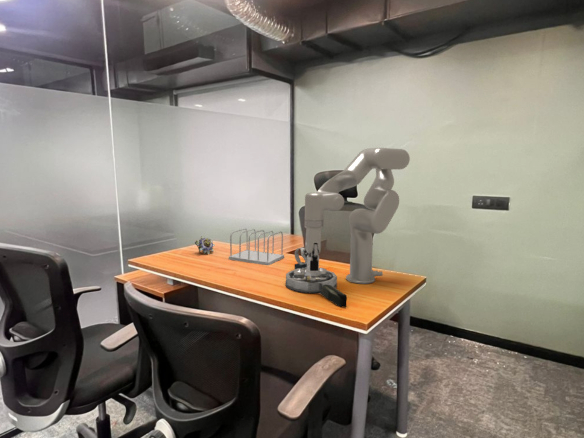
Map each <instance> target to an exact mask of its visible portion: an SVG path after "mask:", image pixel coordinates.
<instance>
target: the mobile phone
mask: <svg viewBox="0 0 584 438" xmlns="http://www.w3.org/2000/svg"><path fill="white" fill-rule="evenodd" d="M319 295H320V296H322V297H324V298H325V299H327V300H329V301H330V302H332V303H333V304H334V305H336V306H338V307H340V308H346V307H347V300H348V299H347V298H348V296H347V294H345V293H343V292H342V291H340V290H338V289H337V288H336V289H335V288H334V287H333V286H331V285H327V284H326V285H323V286H322V293H319Z"/></svg>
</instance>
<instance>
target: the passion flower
mask: <svg viewBox="0 0 584 438" xmlns="http://www.w3.org/2000/svg"><path fill="white" fill-rule="evenodd" d="M194 244H195V245H196V246H197V248H198V251H199V252H201V251H202V253H203V254H204V255H205V254H207V255H208V254H209V255H210V252H214V247H215V246H216V245H215V243H214V242H213V241H212V240H211V239H209V237H204V236H200V239H199V240H195V242H194Z"/></svg>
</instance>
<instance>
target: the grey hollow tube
mask: <svg viewBox="0 0 584 438" xmlns="http://www.w3.org/2000/svg"><path fill="white" fill-rule="evenodd" d="M310 261H311V255H307V269H305V274H306V275H308V276H319V275H321V271H320V269H319V268H320V255H319V254H318V271H310Z"/></svg>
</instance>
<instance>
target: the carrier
mask: <svg viewBox="0 0 584 438" xmlns="http://www.w3.org/2000/svg"><path fill="white" fill-rule="evenodd" d="M319 269H320V271H321V275H319V276H305V270H304V269H301V268H297V269H295V268H294V269H293V270H294V276H292V279H295V280H297V281H303V282H323V281H327V280H331V279H328V276H327V275H326V272H327V269H326V268H325V267H319ZM337 285H338V283H337V284H336V285H335V286H334V288H335V289H337V287H338V286H337ZM285 288H286V289H288V290H290V291H293V292H295V293H300V294H309V295H312V294H314V295H315V294H316V295H317V294H319V293H322V290H313V291H307V290H301V289H295V288H293V287H291V286H288V285H287V282H286V281H285ZM319 295H320V294H319Z"/></svg>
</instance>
